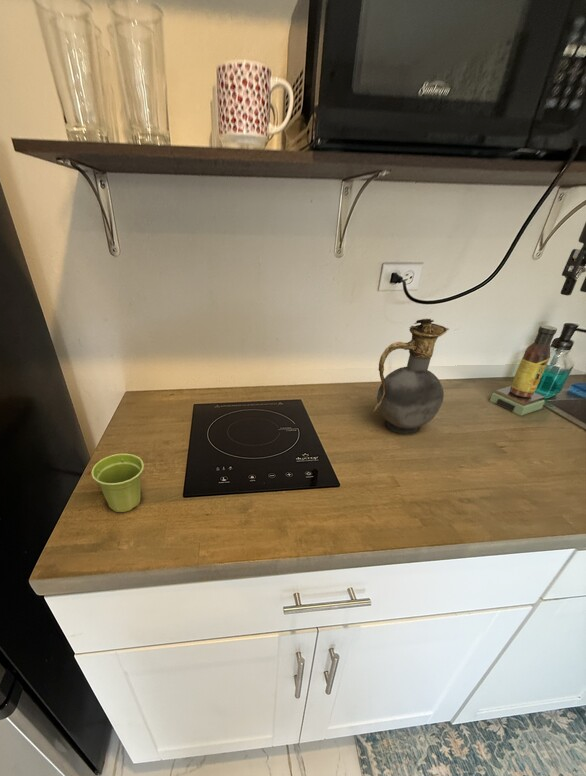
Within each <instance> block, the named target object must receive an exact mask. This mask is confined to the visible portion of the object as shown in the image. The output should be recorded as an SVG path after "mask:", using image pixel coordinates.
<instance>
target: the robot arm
mask: <svg viewBox="0 0 586 776" xmlns="http://www.w3.org/2000/svg"><path fill="white" fill-rule="evenodd" d="M577 241H578V243H580V244H583V245H582V246H581V248H580V249H578V248H573V249H572V250H571V251H570V254H569V256H568V259H567V261H566V263H565V266H564V268H563V269H562V273H561V276H562V277H564V278H565V280H564V283H563V285H562V288H561V290H560V294H561V295H563V296H571V295H572V293H573V291H574V289H575V286H576V284H577V282H578V279H579V278H580V276H581V275H582V274H583V273H586V221H585V222H584V224H583V227H582V231H581V233H580V235H579V237H578V240H577ZM579 292H582V293H586V276H585V277H584V279H583V282H582V284H581V286H580V288H579Z"/></svg>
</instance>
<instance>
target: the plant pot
mask: <svg viewBox="0 0 586 776" xmlns="http://www.w3.org/2000/svg"><path fill="white" fill-rule="evenodd" d="M144 467H145V465H144V461H143V460H142V458H141V457H139V456H138V455H136V454H132V453H116V454H112V455H108V456H106V457H104V458H102V459H100V460H98V462H96V463H95V464H94V466H93V467H92V469H91V477H92V478H93V480H94V481H95V482H96V483H97V484H98V486H99V488H100V490H101V491H102V493H103V496H104V498H105V500H106V503H107V505H108V507H109V508H110V509H111V510H112V511H114V512H117V513H126V512H130V511H131V510H133V509H134V508H136V507H138V506H139V505H140V503H141V494H142V493H141V492H142V491H141V489H142V488H141V487H142V486H141V485H142V484H141V483H142V481H141V480H142V474H143V471H144V469H145V468H144Z"/></svg>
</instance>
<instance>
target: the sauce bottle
mask: <svg viewBox="0 0 586 776" xmlns="http://www.w3.org/2000/svg"><path fill="white" fill-rule="evenodd" d="M557 331H558V328H557V327H555V326H552V325H540V326H539V327H538V330H537V334H536V337H535V339H534V342H533V343H532V344H530V345H529V346H528V347H527V348H526V349H525V350H524V354H523V357H522V358H521V360H520V363H519V365H518V368H517V370H516V372H515V375H514V377H513V380H512V382H511V385H510V386H511V388H510V392H511V393H513V394H514V395H517V396H520V397H531V396H532V395H533V394H534V393H536V391H537V388H538V386H539V383H540V382H541V380H542V377H543V374H544V373H545V371H546V368H547V366H548V364H549V361H550V360H551V344H552V341H553V338H554V336H555V335H556V334H557Z"/></svg>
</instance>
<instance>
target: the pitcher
mask: <svg viewBox="0 0 586 776" xmlns="http://www.w3.org/2000/svg"><path fill="white" fill-rule="evenodd" d="M433 322H435V320H433V319H432V318H422V319H417V320H416V321H415V322H413V324H414V325H411V326H409V327H408V328H409V329H408V330H409V332H410V333H411V340H410V341H408V342H403V341H395V342H392V343H391V344H389V345H388V346H387V347H386V348H385V349H384V351H383V352H382V354H381V356H380V358H379V362H378V373H379V378H380V381H381V384H380V386H379V387H378V389H377V390H378V391H377V394H376V395H377V396H376V401H377V404H375V406H374V408H373V411H372V412H373V413H375V412H376V411H377V410H379V412H380V413H381V416H382V417H383V419H385V420H386V421H387V423H386V424H387V425H386V426H387V428H388V429H389V430H390V431H391V432H394V433H397V434H400V435H411V434H414V433H416V432H417V431H418V428H420V427H422V426H424V425H426V424H428V423H430V422H431V421H432V420H434V418H435V417H436V416H437V414H438V412H439V411H440V409H441V407H442V405H443V402H444V397H445V396H444V395H445V394H444V393H445V392H444V388H443V385H442V383H441V381H440V379H439V378H438V377H437V376H436V375H435V373H433V372H432V371H430V370H429V366H430V363H431V358H432V357H433V354H434V349H435V348H434V347H435V344H436V342H437V340H438V338H439V337H441V336H444V335H445V334H446V333H447V331H449V330H450V328H449V327H446V326H444V325H440V324H437V323H433ZM396 350H404V351H408V353H409V356H408V360H407V364H406V366H402V367H398V368H396V369H394V370H393V371H391V372H390V373H388V374H387V375H386V376H384V371H385V362H386V360H387V357H388V356H389V355H390V353H392V352H393V351H396Z"/></svg>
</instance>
